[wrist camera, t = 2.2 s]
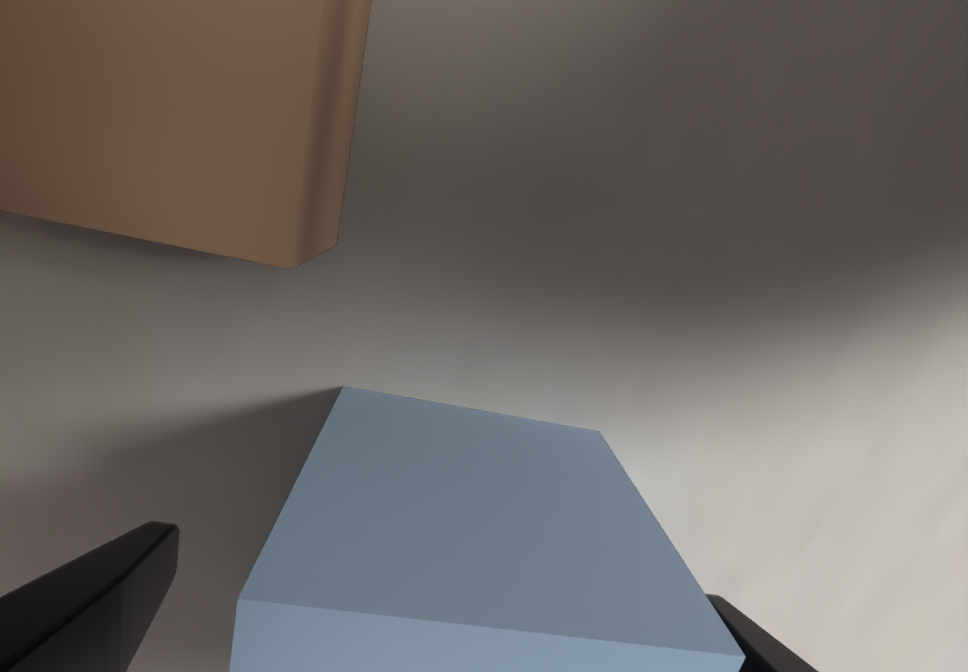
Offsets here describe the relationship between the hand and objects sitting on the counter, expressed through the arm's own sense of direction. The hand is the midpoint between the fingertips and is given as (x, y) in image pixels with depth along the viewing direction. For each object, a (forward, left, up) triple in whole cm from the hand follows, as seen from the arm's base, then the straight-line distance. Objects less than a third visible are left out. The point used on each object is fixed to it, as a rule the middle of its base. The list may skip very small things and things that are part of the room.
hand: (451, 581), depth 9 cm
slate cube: (0, 0, -2) cm, 2 cm away
